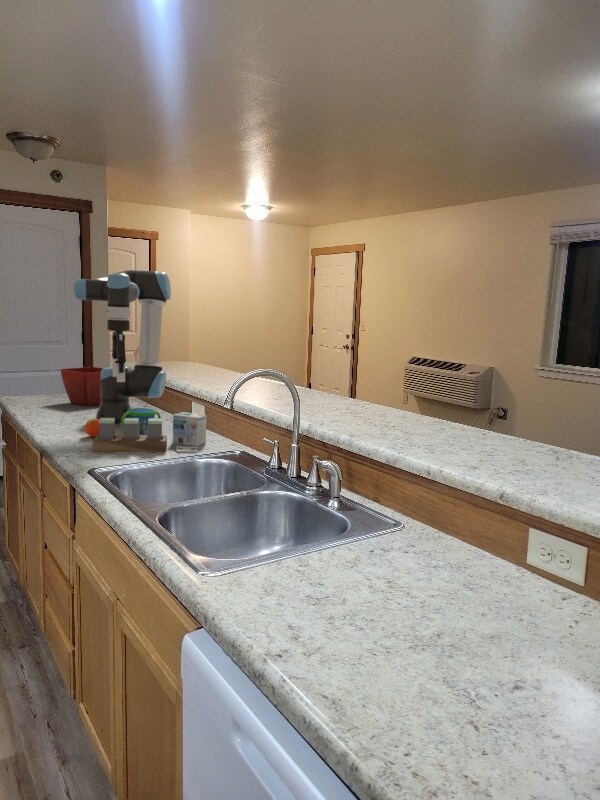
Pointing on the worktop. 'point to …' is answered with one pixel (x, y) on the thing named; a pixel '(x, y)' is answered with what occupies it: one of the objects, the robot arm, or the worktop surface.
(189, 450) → the card
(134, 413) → the snack cup
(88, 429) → the tomato
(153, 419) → the button far
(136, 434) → the button mid
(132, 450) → the button board
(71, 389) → the plant pot
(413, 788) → the worktop surface
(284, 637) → the worktop surface
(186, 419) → the light bulb box
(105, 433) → the button near
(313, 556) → the worktop surface
